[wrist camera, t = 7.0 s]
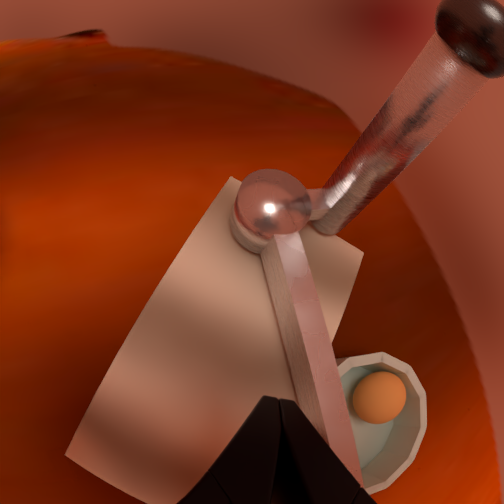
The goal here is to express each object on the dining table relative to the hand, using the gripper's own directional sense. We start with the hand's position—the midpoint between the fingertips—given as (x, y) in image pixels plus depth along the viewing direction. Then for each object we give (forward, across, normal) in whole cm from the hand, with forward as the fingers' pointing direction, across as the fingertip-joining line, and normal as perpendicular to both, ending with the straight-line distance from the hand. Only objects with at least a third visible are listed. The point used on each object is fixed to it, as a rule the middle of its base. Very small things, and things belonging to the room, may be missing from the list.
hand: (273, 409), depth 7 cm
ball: (+8, -8, +5) cm, 13 cm away
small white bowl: (+9, -7, +8) cm, 14 cm away
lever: (+8, -3, +1) cm, 8 cm away
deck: (+9, +2, +5) cm, 11 cm away
